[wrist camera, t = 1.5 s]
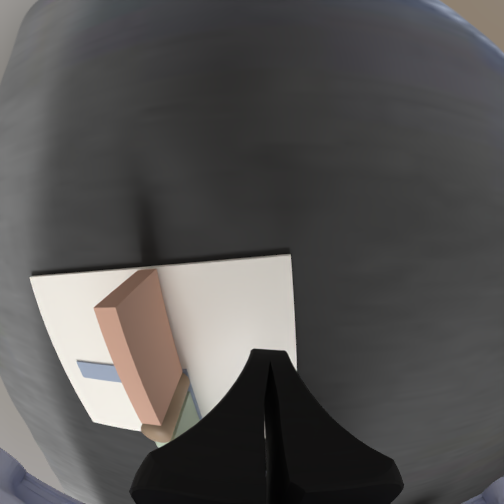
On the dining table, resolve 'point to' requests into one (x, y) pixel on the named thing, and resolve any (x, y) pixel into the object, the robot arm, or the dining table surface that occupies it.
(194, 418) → the fence fixed
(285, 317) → the card
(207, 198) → the dining table surface
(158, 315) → the fence panel
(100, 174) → the dining table surface
